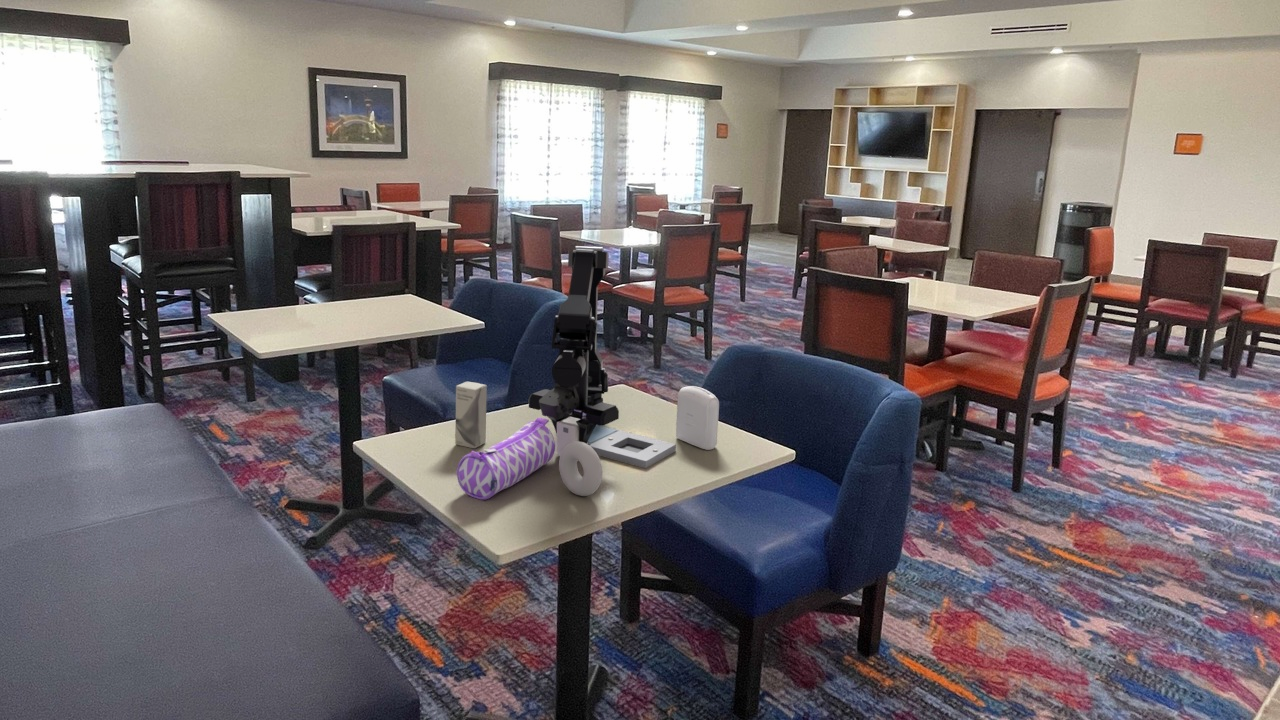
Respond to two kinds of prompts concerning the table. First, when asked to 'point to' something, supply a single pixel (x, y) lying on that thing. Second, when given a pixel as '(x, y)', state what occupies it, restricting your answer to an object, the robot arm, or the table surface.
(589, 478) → the donut
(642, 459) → the outlet plate
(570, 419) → the block
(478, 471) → the pencil case
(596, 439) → the phone
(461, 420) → the box
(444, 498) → the table surface
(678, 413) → the photo printer
